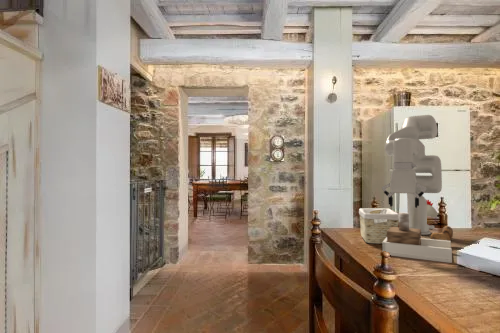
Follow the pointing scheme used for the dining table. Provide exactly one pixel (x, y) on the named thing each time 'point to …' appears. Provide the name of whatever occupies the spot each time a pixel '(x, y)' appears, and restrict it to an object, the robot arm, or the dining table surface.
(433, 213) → the kitchen timer
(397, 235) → the tan block with peg
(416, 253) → the bay
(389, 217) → the storage basket
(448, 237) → the lion figurine
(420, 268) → the dining table surface
